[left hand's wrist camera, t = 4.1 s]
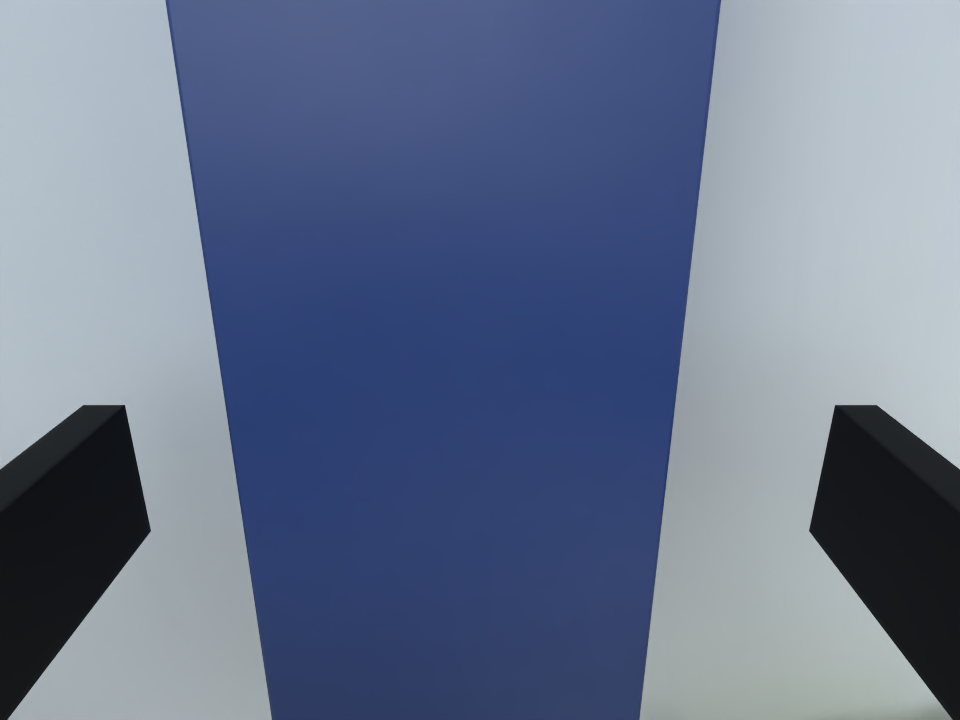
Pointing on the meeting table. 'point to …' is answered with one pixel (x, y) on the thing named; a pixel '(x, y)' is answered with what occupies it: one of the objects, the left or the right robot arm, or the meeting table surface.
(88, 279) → the meeting table surface
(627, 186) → the bar
